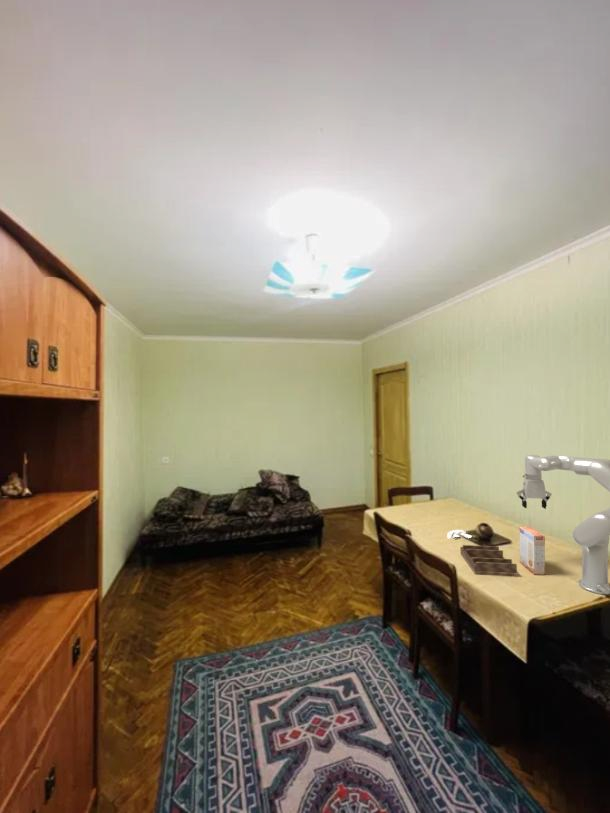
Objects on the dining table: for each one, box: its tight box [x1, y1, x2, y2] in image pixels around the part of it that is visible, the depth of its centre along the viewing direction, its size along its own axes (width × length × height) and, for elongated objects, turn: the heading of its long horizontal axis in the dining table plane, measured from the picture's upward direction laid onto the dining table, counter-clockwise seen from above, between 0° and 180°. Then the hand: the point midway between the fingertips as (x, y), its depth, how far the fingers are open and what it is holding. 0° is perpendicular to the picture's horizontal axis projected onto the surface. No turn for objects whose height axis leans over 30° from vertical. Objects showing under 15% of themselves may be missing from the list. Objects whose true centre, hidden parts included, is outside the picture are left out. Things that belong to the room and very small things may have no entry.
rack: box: [460, 544, 521, 578], centre depth 188 cm, size 22×24×6 cm
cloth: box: [446, 529, 473, 540], centre depth 230 cm, size 20×22×2 cm
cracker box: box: [519, 526, 546, 576], centre depth 183 cm, size 14×6×21 cm, turn 174°
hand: (534, 507), depth 188 cm, fingers open, 9 cm apart
